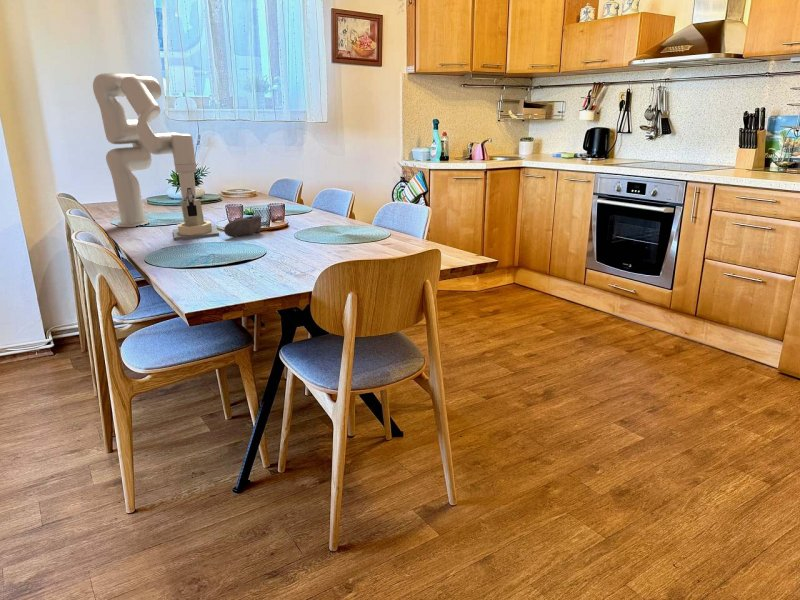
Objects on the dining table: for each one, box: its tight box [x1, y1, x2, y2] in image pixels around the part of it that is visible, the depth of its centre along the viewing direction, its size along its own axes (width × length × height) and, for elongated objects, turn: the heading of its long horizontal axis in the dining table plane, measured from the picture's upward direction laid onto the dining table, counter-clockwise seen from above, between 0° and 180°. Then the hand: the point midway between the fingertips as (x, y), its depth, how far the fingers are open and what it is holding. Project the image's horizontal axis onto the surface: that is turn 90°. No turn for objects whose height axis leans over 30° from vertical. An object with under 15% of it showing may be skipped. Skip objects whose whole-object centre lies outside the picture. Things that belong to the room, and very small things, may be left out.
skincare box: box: [180, 198, 205, 226], centre depth 216 cm, size 6×4×12 cm
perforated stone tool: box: [223, 215, 262, 238], centre depth 212 cm, size 15×5×7 cm, turn 122°
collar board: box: [172, 220, 220, 241], centre depth 217 cm, size 16×16×4 cm
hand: (192, 213), depth 216 cm, fingers open, 9 cm apart
